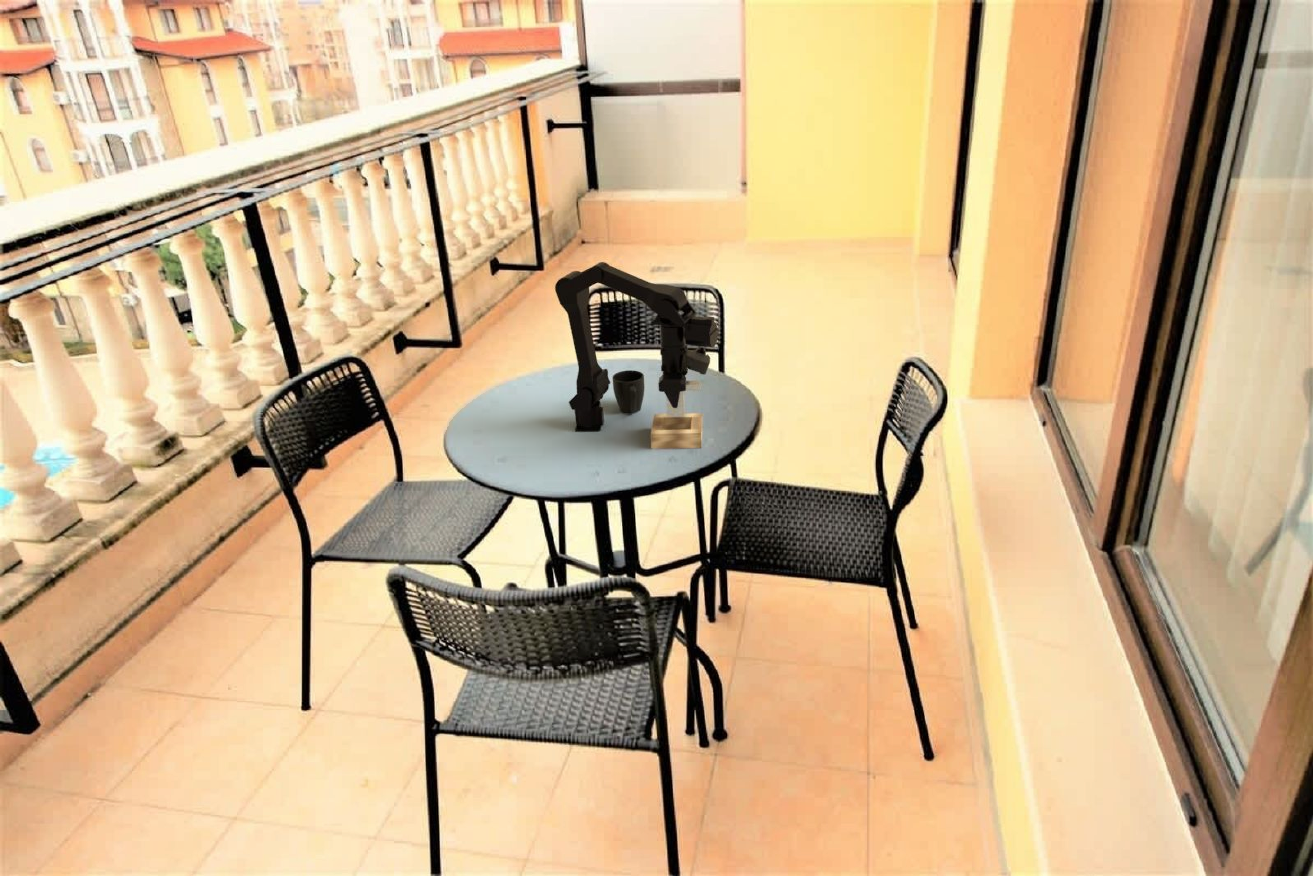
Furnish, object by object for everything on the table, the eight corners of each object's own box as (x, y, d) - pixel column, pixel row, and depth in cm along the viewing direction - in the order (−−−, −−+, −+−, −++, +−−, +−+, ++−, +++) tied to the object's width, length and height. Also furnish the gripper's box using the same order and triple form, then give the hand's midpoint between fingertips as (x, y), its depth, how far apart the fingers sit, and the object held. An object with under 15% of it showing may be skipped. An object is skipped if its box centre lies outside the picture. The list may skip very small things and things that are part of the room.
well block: (651, 448, 202) (650, 433, 200) (654, 428, 212) (654, 414, 210) (701, 448, 201) (700, 433, 199) (702, 427, 211) (702, 413, 209)
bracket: (667, 417, 202) (666, 386, 198) (668, 410, 205) (667, 379, 202) (700, 416, 201) (699, 385, 197) (701, 409, 205) (700, 379, 201)
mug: (618, 423, 215) (615, 389, 211) (613, 404, 226) (610, 371, 222) (650, 419, 216) (648, 385, 212) (643, 401, 227) (641, 368, 223)
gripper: (706, 356, 186) (708, 420, 193) (708, 328, 203) (709, 387, 210) (656, 357, 187) (660, 421, 194) (662, 329, 204) (665, 388, 211)
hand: (675, 403), depth 202 cm, fingers closed on bracket, 4 cm apart
